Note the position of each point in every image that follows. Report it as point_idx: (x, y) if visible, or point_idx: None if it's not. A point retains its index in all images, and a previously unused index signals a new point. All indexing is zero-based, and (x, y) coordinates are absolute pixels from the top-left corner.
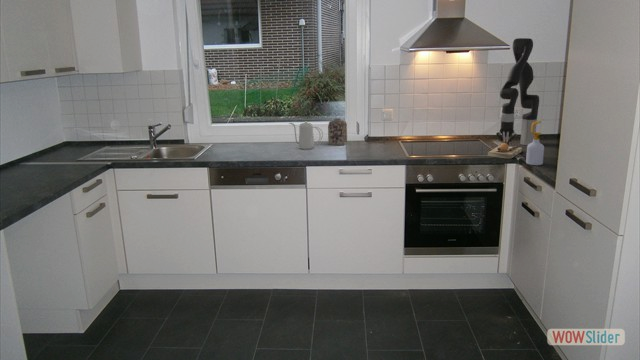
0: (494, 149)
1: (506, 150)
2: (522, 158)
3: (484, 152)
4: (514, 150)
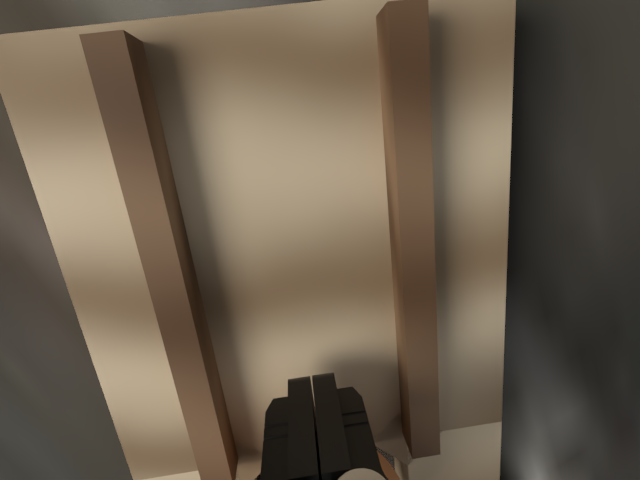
0: (154, 466)
1: None
2: (581, 449)
3: (28, 440)
4: (459, 351)
